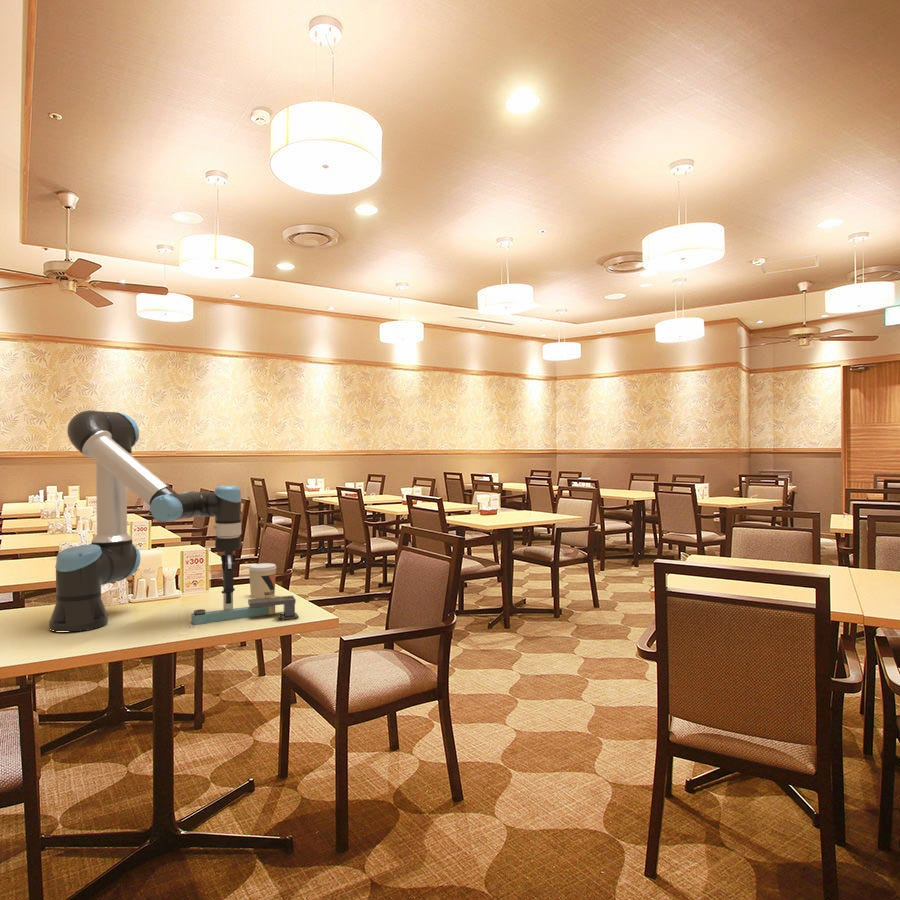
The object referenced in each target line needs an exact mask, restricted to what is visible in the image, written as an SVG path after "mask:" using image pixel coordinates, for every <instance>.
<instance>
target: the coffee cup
mask: <svg viewBox="0 0 900 900" xmlns="http://www.w3.org/2000/svg"><path fill="white" fill-rule="evenodd" d="M277 568H278V567H277V565H276V564H275V563H272V562H271V563H269V562H268V563H267V562H263V563H261V562H260V563H254V564H250V566H249V568H248V570H249V574H248V575H249V585H250V586H249V588H250V598H251V599H258V598H270V597H275V593H276V576H277Z"/></svg>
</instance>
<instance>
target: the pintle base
mask: <svg viewBox="0 0 900 900" xmlns="http://www.w3.org/2000/svg"><path fill="white" fill-rule="evenodd" d="M205 612H206V609H203V608H202V609H201V608H200V609H195V610H193V613H194V614H196V616H197V615H203V613H205Z"/></svg>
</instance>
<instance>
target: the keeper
mask: <svg viewBox="0 0 900 900" xmlns="http://www.w3.org/2000/svg"><path fill="white" fill-rule="evenodd" d="M296 603H297V602H296V597H295V596H294V595H284V596H282V595H281V596H273V597H270V598H258V599H257V598H250V599H249V598H248V599H247V604H248V607H250V608H251V607H262V606H272V605H275V606H280V605H282V606H283V613H280V614H279V618H280V617H281V618H280V619H282V620H283V621H285V620H284V619H292V620H295V619H294V618H300V616H299V615H298V612H296ZM282 620H281V621H282Z"/></svg>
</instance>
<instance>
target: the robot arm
mask: <svg viewBox="0 0 900 900" xmlns="http://www.w3.org/2000/svg"><path fill="white" fill-rule="evenodd" d="M66 430H67V437H68V439H69V442H70V443H71V444H72V445H73V446H74V448H75V449H76V450H77V451H78V452H80V454H82V455H83V456H85V457H86V458H92V459H94V460H95V463H96V464H95V470H96V472H95V473H96V475H95V479H96V482H95V483H96V488H95V489H96V490H95V491H96V536H95V537H93V538H92V539H91V544H82V545H81V544H80V545H75V546H70V547H67V548H65V549H62V550H60V551H59V552H58V553H57V555H56V560H55V562H56V564H55V591H56V592H55V594H56V595H55V600H56V601H55V605H54V608H53V611H52V612H51V613H52V614H51V617H50V618H49V619H50V620H49V621H48V623H49V627H48V629H51V630H54V631H80V630H86V631H88V630H87V629H91V630H93V629H92V628H95V629H98V628H97V627H99V628H101V627H100V626H102V627H104V626H106V625H107V624H108V623H109V622H108V621H109V619H108V618H109V616H108V612H107V610H106V607H105V604H104V602H103V600H102V586H104V585H106V584H107V585H108V584H110V583H115V582H121V581H124V580H125V579H127V578H130V577H131V576H133V575H134V574H135V572H137V571H138V568H139V567H140V565H141V564H140V563H141V553H140V549H139V548H137V545H136V544H134V543H133V537H132V536H131V535H129V534H128V509H127V508H128V507H127V506H128V499H127V497H128V496H127V495H128V491H127V490H128V489H130V491H132V492H133V493H134V494H136V496H138V497H139V498H140V499H142V500H143V502H145V503H146V504H147V505H148V506H149V510H150V513H151V516H152V517H153V519H154V520H156V521H158V522H161V523H162V522H163V523H165V522H168V523H170V522H174V521H178V520H185V519H191V518H197V517H198V518H199V517H210V518H211V517H214V521H215V522H214V523H215V524H214V525H215V526H213V527H212V529H213V530H215V533H214V534H215V539H214V549H215V550H216V551H220V552H222V551H223V554H221V555H220V560H221V569H222V590H221V594H222V595H223V596H222V598H223V601H222V602H223V604H222V605H223V606H222V607H223V608H222V610H227V609H234V591H235V589H236V588H234V583H235V582H234V581H235V579H234V578H235V577H234V576H235V572H234V571H235V569H236V567H235V564H236V555H235V554H233V553H234V551H238V550H240V549H241V548H242V537H241V535H242V493H241V488H240V487H239V486H237V485H218V486H216V487H215V488H214V491H212V492H210V491H209V492H208V491H207V492H206V491H195V490H192V491H184V492H182V493H177V491H175V490H173V488H171V487H170V486H168V484H167V483H165V482H164V481H163V480H162V479H160V478H159V477H158V476H157V475H156V474H154V473H153V472H152V471H151V470H150V469H149V468H147V467H146V466H145V465H144V464H143V463H141V462H140V461H139V460H138V459H137V458H135V457H134V456H133V455H132V452H133V451H132V448H133V447H134V446H135V445H136V443H137V442H138V441H139V437H140V429H139V426H138V424H137V422H136V420H135V419H134V418H132V417H131V416H130V415H128V414H126V413H121V412H117V411H116V412H115V411H101V410H99V411H98V410H83V411H80V412H79V413H77V414H75V415H74V416H73V417H72V418H71V419H70V421H68V425H67V429H66ZM127 488H128V489H127ZM105 624H106V625H105ZM103 625H104V626H103ZM80 632H81V631H80Z"/></svg>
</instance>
